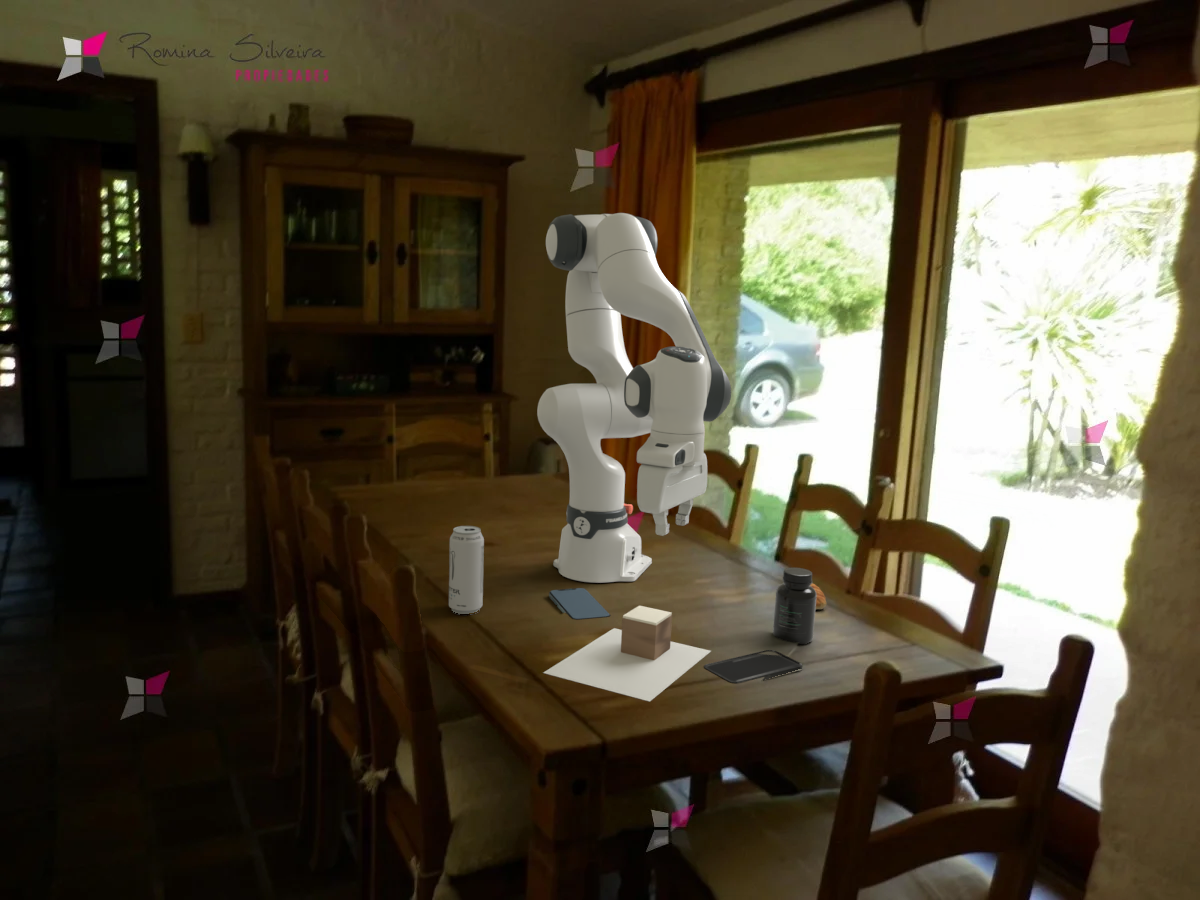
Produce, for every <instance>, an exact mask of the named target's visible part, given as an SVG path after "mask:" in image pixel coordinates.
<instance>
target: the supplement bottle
mask: <svg viewBox="0 0 1200 900" xmlns="http://www.w3.org/2000/svg"><path fill="white" fill-rule="evenodd" d="M812 583H813V572H812V571H810V569H805V568H803V567H802V568H801V567H788V568H785V569H783V575H782V583H781V584H779V585H778V586H777V588H776V589H775V590H776V591H775V600H774V601H775V602H774V612H773V614H774V615H773V624H772V626H773V627H772V628H773V629H772V634H773V636H774V637H775V638H777V639H779V640H781V641H784V642H790V643H797V644H804V645H808V644H810V643H811V642H812V641H813V639H814V631H815V618H816V610H817V609H816V596H817V594H816V591H815V589H814V588H813V587H811V586H810V585H811V584H812ZM809 642H810V643H809ZM807 643H808V644H807Z"/></svg>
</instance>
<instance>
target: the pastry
mask: <svg viewBox="0 0 1200 900" xmlns="http://www.w3.org/2000/svg"><path fill="white" fill-rule="evenodd" d="M810 586H811V587H813V588H814V589H815V591H816V594H817V596H816V609H815V610H824V609H825V608H826V606H827V605H828V604H827V601H826V599H827V598H826V596H825V594H824V592H823V591H822V589H821V588H820V587H819V586H817V585H816V584H815V583H813V582H812V584H811V585H810Z"/></svg>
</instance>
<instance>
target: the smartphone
mask: <svg viewBox="0 0 1200 900" xmlns="http://www.w3.org/2000/svg"><path fill="white" fill-rule="evenodd" d="M548 597H549V599H550V600H551V601H552V602H553V603H554V605H555V606H556V605H557V606H556V607H557V608H558V609H559V610H560V611H561V612H562V614H565V613H566V614H567V615H568V616H569V617H570V618H571V619H572V620H576V621H579V620H590V619H601V618H603V619H604V618H610V617H611V616H612V615H611V614H610V613H609V612H608V611H607V610H606V609H605V608H604V606H603V605H602V604H600V603H599V601H598V600H596V598H595V597H594V596H593V595H592V594H591V593H590V592H589V591H588V590H587V589H586V588H584V587H577V588H576V587H573V588H562V589H561V588H560V589H553V590H552V589H551V590H550V591H548Z"/></svg>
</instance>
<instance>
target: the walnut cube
mask: <svg viewBox="0 0 1200 900" xmlns="http://www.w3.org/2000/svg"><path fill="white" fill-rule="evenodd" d="M672 613H673V612H672V611H671V612H670V611H667V610H662V609H658V608H652V607H649V606H648V607H647V606H643V605H638V606H636V607H634V608H633V609H631V610H629V611H628V612H627V613H624V614H623V615H622V618H621V619H622V620H621V630H622V636H621V652H622V653H626V654H630V655H634V656H638V657H642V658H646V659H650V660H656V659H657V658H658V657H660V656H661V655H662V654H664V653H665V652H666V651H668V650H669V649H670V642H672V641H671V637H672V622H673V614H672Z"/></svg>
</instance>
